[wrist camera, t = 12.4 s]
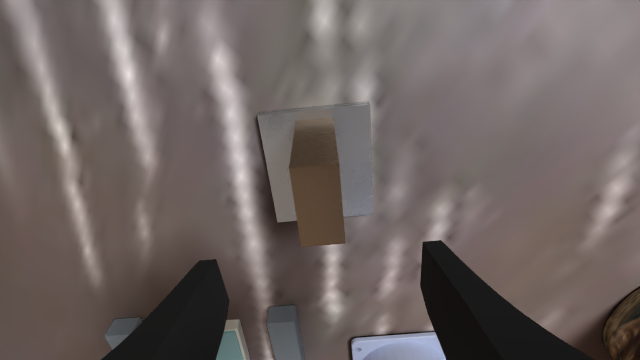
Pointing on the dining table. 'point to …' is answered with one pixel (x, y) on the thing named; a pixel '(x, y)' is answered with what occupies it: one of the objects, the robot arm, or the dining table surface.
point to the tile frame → (278, 324)
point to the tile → (233, 343)
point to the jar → (624, 329)
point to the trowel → (319, 167)
